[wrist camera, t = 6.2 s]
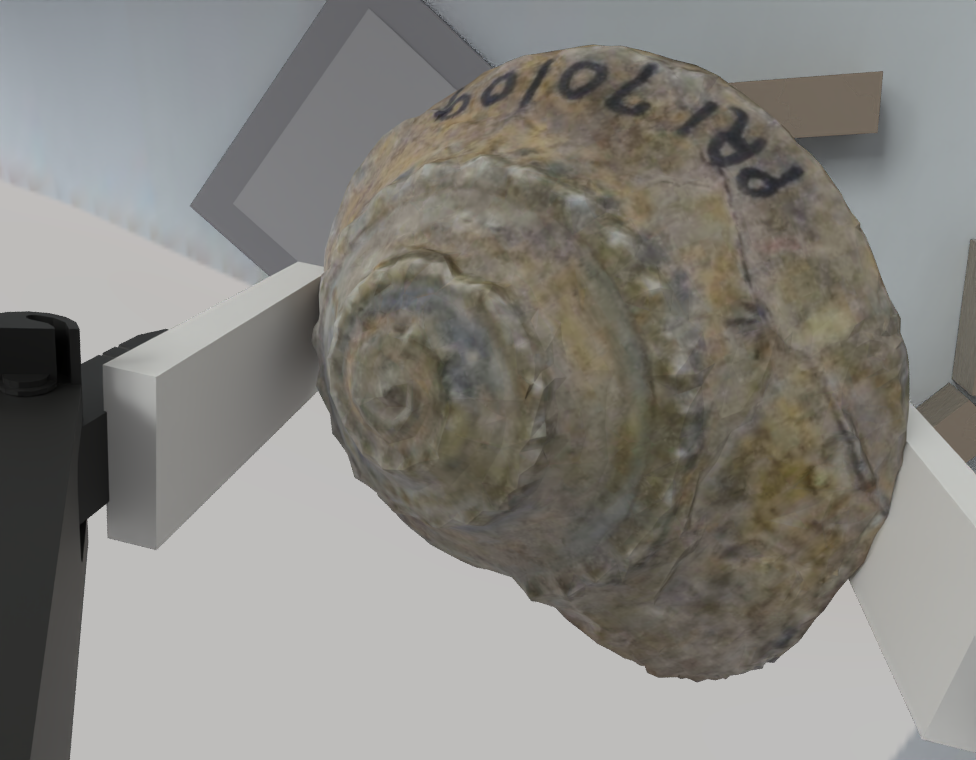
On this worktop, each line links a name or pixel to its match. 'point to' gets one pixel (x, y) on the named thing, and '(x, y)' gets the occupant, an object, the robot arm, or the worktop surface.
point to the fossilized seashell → (618, 354)
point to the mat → (329, 123)
